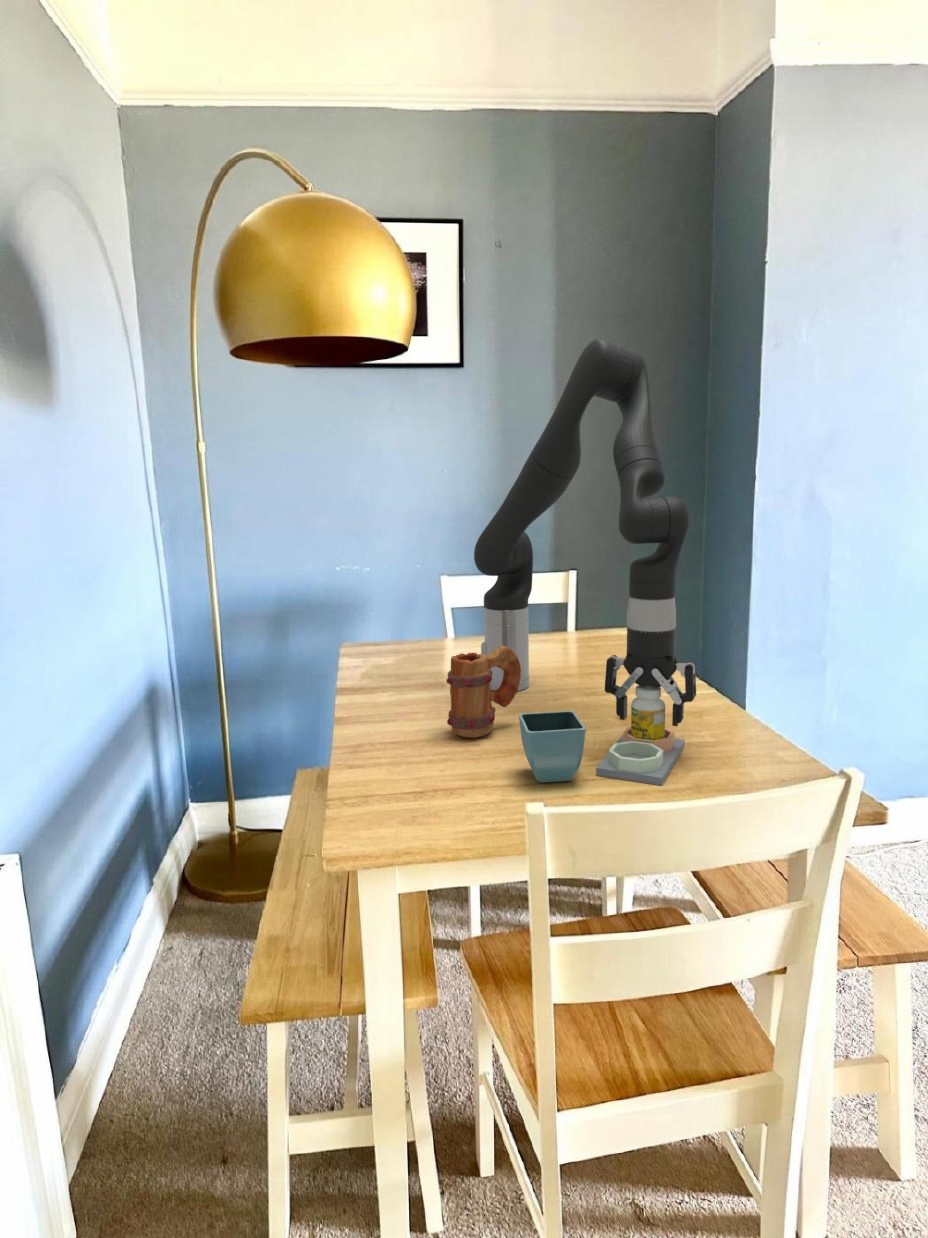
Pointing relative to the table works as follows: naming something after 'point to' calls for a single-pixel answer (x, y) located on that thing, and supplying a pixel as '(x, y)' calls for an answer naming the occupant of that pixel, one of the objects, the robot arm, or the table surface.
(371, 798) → the table surface
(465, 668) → the mug
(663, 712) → the supplement bottle
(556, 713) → the flower pot
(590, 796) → the table surface
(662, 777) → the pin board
